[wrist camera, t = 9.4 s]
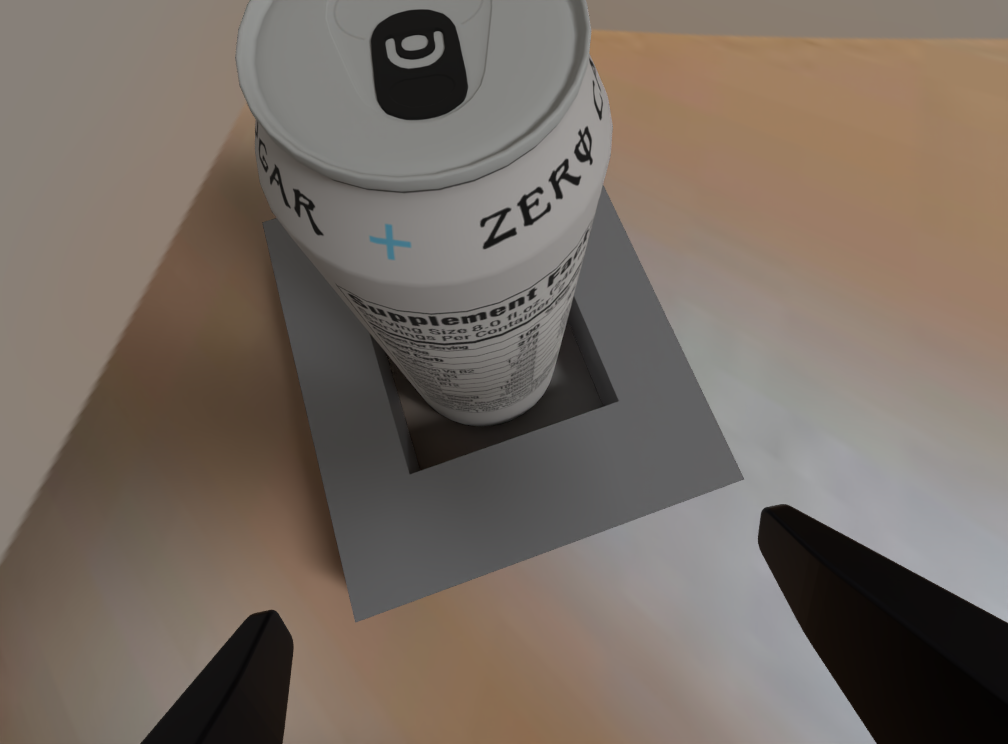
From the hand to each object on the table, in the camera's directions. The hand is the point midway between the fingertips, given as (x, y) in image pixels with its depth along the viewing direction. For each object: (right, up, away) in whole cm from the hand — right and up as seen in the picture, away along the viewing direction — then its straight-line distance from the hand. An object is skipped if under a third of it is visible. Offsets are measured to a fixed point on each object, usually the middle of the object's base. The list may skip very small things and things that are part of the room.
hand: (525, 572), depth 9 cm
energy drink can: (-1, +4, +12) cm, 13 cm away
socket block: (-1, +4, +12) cm, 13 cm away
